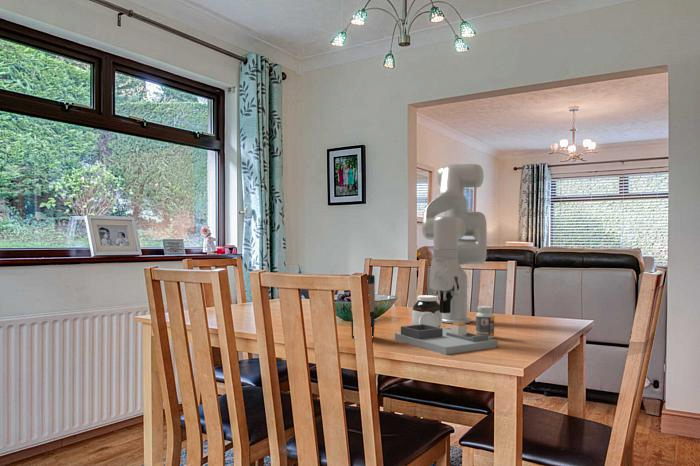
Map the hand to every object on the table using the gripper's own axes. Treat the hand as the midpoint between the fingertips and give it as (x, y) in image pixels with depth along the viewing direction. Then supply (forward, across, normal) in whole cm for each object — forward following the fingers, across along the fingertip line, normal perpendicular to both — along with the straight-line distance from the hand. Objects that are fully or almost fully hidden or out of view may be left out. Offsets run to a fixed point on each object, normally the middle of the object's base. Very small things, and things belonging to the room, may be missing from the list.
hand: (445, 312), depth 167 cm
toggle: (+6, +6, +1) cm, 9 cm away
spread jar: (+8, -15, +6) cm, 18 cm away
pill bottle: (+8, +4, +14) cm, 17 cm away
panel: (+9, +5, -4) cm, 11 cm away
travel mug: (+9, -15, -21) cm, 28 cm away
